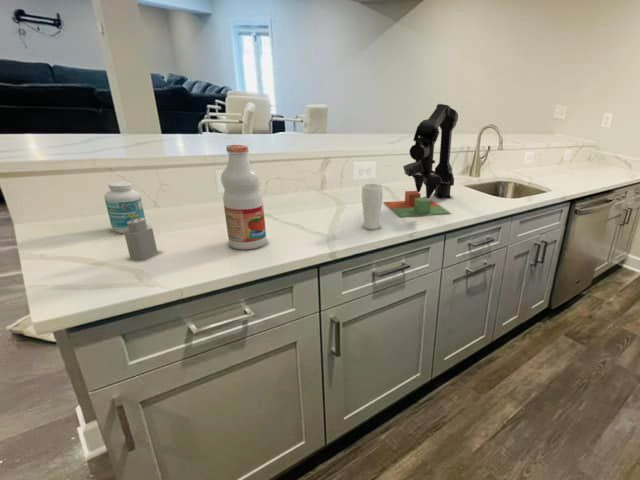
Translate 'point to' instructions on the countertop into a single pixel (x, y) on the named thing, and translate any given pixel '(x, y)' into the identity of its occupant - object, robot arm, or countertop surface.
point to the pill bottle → (122, 205)
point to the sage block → (422, 205)
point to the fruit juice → (243, 201)
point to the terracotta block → (411, 197)
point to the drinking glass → (371, 205)
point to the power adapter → (140, 239)
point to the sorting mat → (406, 210)
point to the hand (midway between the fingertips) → (422, 195)
